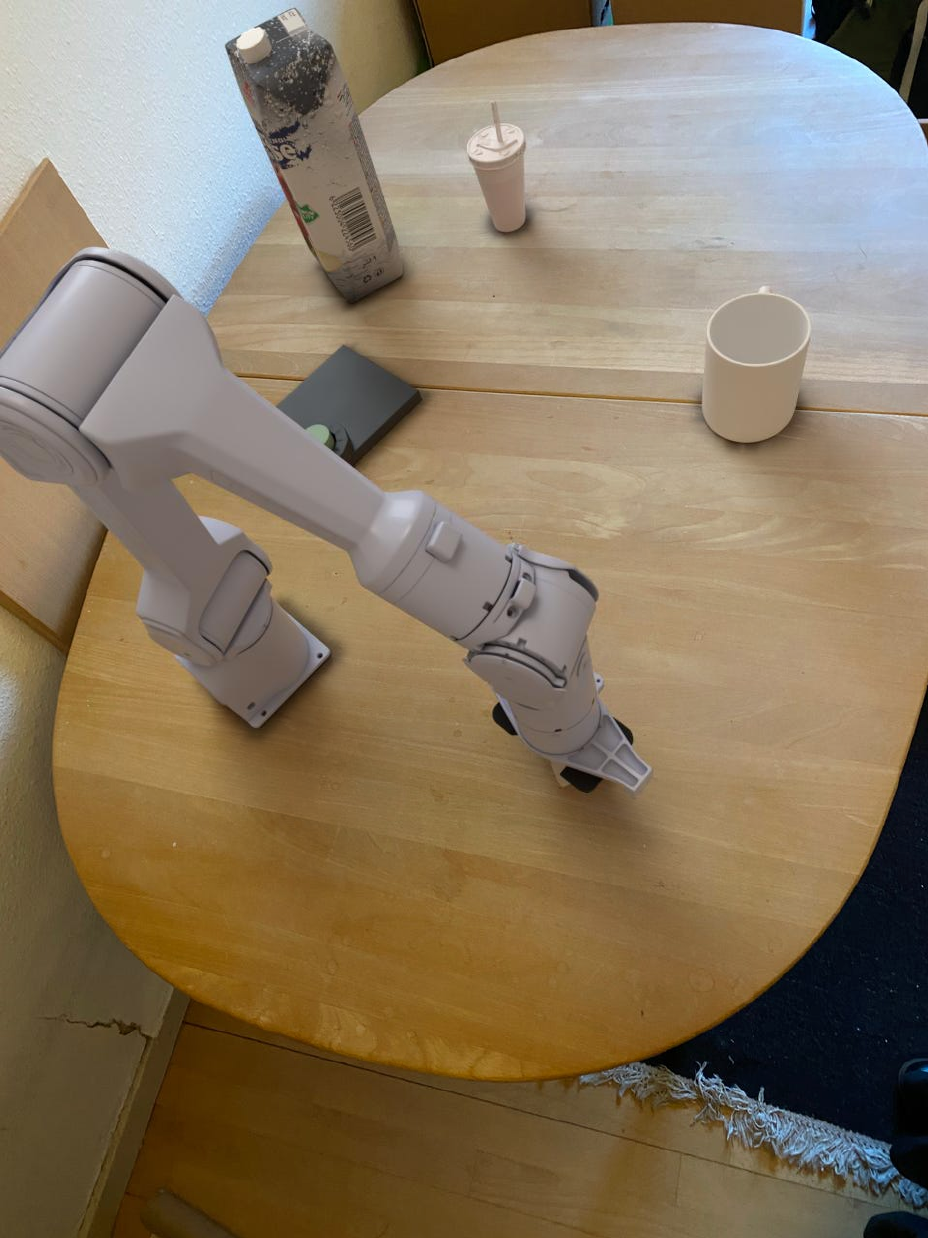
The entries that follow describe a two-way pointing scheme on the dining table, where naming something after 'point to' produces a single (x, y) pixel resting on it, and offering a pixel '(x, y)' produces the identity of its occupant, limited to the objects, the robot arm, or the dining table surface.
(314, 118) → the juice carton
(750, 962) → the dining table surface
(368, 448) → the scale
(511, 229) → the smoothie
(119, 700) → the dining table surface
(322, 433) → the button
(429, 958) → the dining table surface
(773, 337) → the cup
